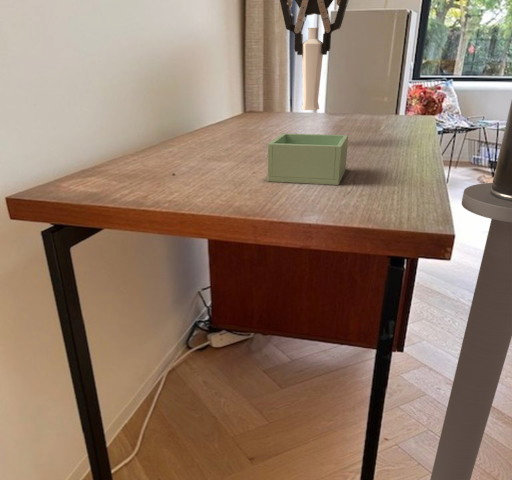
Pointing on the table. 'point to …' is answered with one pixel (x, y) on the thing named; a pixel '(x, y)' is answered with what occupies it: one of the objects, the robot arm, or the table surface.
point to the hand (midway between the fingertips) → (312, 54)
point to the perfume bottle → (311, 69)
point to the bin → (307, 158)
